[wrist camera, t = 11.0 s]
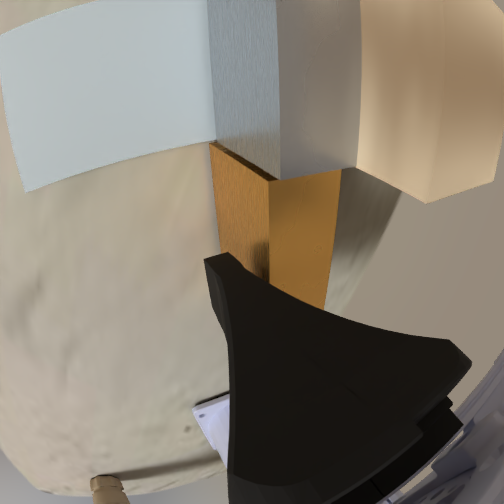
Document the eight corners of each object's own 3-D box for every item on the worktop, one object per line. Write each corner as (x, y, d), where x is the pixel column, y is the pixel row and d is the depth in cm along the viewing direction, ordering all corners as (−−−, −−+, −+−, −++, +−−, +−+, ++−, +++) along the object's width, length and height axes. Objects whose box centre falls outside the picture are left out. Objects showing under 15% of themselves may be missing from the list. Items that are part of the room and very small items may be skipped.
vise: (376, 120, 12) (465, 152, 8) (31, 184, 7) (-18, 269, 4) (378, 19, 9) (474, 26, 5) (6, 39, 4) (-70, 14, 1)
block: (358, 125, 11) (493, 181, 6) (271, 132, 9) (426, 204, 5) (359, 9, 8) (507, 17, 3) (265, -10, 6) (434, -51, 2)
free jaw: (267, 276, 13) (325, 346, 10) (225, 290, 13) (276, 370, 9) (258, -7, 7) (356, -41, 3) (198, -9, 6) (271, -65, 3)
